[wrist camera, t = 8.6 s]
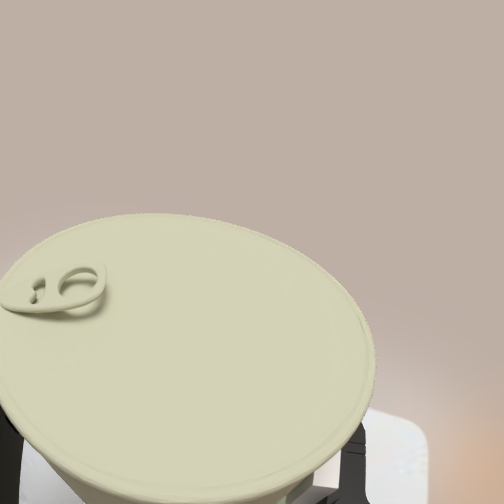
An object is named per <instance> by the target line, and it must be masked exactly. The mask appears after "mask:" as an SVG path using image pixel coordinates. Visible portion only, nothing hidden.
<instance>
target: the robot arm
mask: <svg viewBox="0 0 504 504" xmlns="http://www.w3.org/2000/svg"><path fill="white" fill-rule="evenodd" d="M23 443H24V437H23V436H22V435H21V434H20V433H19V431H18V430H17V429H16V428H15V426H14V425H13V424H12V423H11V421H10V420H9V418H8V417H7V415H6V413H5V412H4V410H3V408H2V407H1V405H0V504H19V485H20V471H21V460H22V451H23ZM365 444H366V438H365V429H364V427H363V425H362V423H361V422H360V424H359V426H358V428H357V429H356V431H355V432H354V434H353V435H352V436H351V438H350V439H349V440H348V441H347V443H346V444H345V445H344V446H343V447H342V448H341V449H340V450H339V451H338V452H337V453H336V454H335V455H334V456H333V457H332V458H331V459H330V460H329V461H327V462H326V463H325V464H324V465H323V466H321V467H320V468H319V469H317V470H316V471H314V472H313V473H311V474H310V475H308V476H307V477H306V478H305V479H304V480H303V481H301V482H300V483H299V484H298V485H297V486H296V487H295V488H294V489H293V490H291V491H290V492H289V493H288V494H287V495H286V500H285V504H370V503H369V502H368V500H367V497H366V493H365V476H366V456H365V454H366V446H365Z"/></svg>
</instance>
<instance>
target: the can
mask: <svg viewBox="0 0 504 504" xmlns="http://www.w3.org/2000/svg"><path fill="white" fill-rule="evenodd" d="M375 377H376V355H375V347H374V343H373V339H372V335H371V332H370V329H369V327H368V324H367V322H366V320H365V317H364V315H363V314H362V312H361V311H360V309H359V307H358V305H357V304H356V302H355V301H354V300H353V298H352V297H351V296H350V295H349V293H348V292H347V291H346V290H345V288H344V287H343V286H342V285H341V284H340V283H339V282H338V281H337V280H336V279H335V278H334V277H333V276H332V275H331V274H329V273H328V272H327V271H325V270H324V269H323V268H322V267H320V266H319V265H318V264H317V263H315V262H314V261H312V260H311V259H310V258H308V257H307V256H305V255H303V254H302V253H300V252H298V251H297V250H295V249H293V248H291V247H290V246H288V245H286V244H284V243H281V242H280V241H277V240H276V239H273V238H271V237H269V236H266V235H264V234H261V233H258V232H256V231H253V230H250V229H247V228H244V227H241V226H238V225H234V224H231V223H227V222H223V221H218V220H214V219H208V218H202V217H196V216H187V215H178V214H158V213H155V214H154V213H152V214H150V213H149V214H130V215H120V216H113V217H108V218H103V219H98V220H93V221H90V222H86V223H83V224H80V225H76V226H74V227H71V228H68V229H66V230H63V231H61V232H59V233H57V234H55V235H53V236H51V237H49V238H47V239H46V240H44V241H42V242H40V243H38V244H37V245H36V246H34V247H33V248H32V249H30V250H29V251H28V252H27V253H25V254H24V255H23V256H21V257H20V258H19V259H18V260H17V261H16V262H15V263H14V264H13V266H12V267H11V268H10V269H9V270H8V272H7V273H6V274H5V275H4V277H3V278H2V280H1V281H0V405H1V407H2V408H3V410H4V412H5V413H6V415H7V417H8V418H9V420H10V421H11V423H12V424H13V425H14V426H15V428H16V429H17V430H18V431H19V433H20V434H21V435H22V436H23V437H24V438H25V440H26V441H27V442H28V443H29V444H30V445H31V446H32V447H33V448H34V449H35V450H36V451H37V452H39V453H40V454H41V455H42V456H43V457H44V459H45V460H46V461H47V462H48V463H49V464H50V466H51V467H52V468H53V469H54V470H55V471H56V472H57V474H58V475H59V476H60V477H61V478H62V479H63V480H64V481H65V482H66V483H67V484H68V485H69V486H70V487H71V489H72V490H73V491H74V492H75V493H76V494H77V495H78V496H79V497H80V498H81V499H82V500H83V501H84V502H85V503H86V504H276V503H278V502H279V501H280V500H281V499H282V498H283V497H284V496H286V495H287V494H288V493H289V492H290V491H291V490H293V489H294V488H295V487H296V486H297V485H298V484H299V483H300V482H301V481H303V480H304V479H305V478H306V477H307V476H308V475H310V474H311V473H313V472H314V471H316V470H317V469H319V468H320V467H321V466H323V465H324V464H325V463H326V462H327V461H329V460H330V459H331V458H332V457H333V456H334V455H335V454H336V453H337V452H338V451H339V450H340V449H341V448H342V447H343V446H344V445H345V444H346V443H347V441H348V440H349V439H350V438H351V436H352V435H353V434H354V432H355V431H356V429H357V428H358V426H359V424H360V422H361V421H362V419H363V417H364V415H365V413H366V411H367V409H368V406H369V403H370V401H371V398H372V395H373V390H374V385H375Z"/></svg>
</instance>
